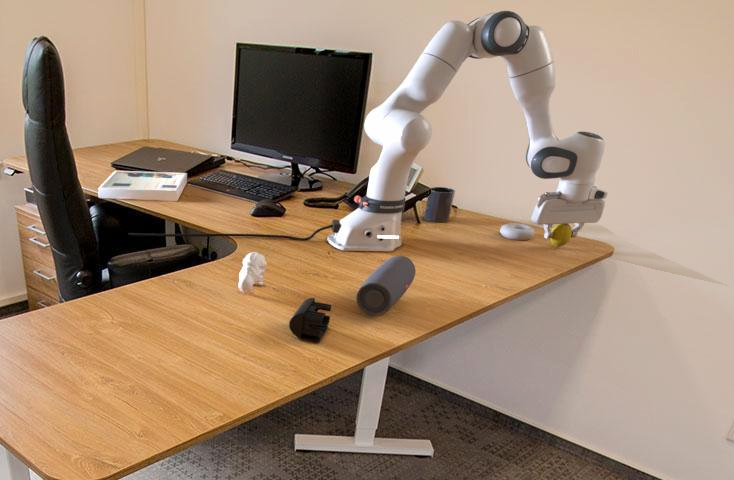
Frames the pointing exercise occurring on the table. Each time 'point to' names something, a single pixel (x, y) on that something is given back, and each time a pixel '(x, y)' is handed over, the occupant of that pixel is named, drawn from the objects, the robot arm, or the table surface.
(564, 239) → the lemon
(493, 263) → the table surface
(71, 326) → the table surface
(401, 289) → the bluetooth speaker
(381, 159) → the robot arm
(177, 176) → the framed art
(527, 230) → the donut
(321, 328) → the end cap
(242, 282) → the white figurine
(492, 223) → the table surface
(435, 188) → the pen cup
